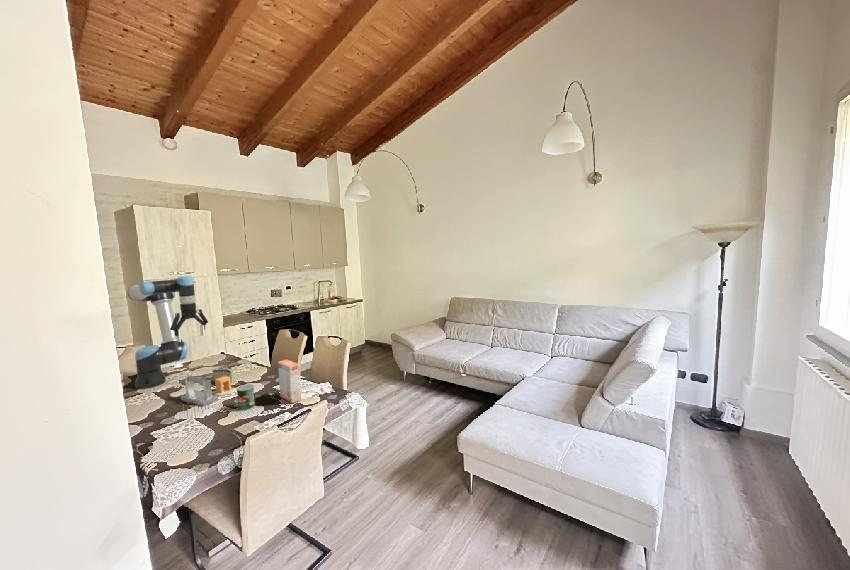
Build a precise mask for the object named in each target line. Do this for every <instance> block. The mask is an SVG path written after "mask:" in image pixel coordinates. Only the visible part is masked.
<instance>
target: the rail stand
mask: <svg viewBox="0 0 850 570" xmlns="http://www.w3.org/2000/svg"><path fill="white" fill-rule="evenodd" d="M184 383H185V391H186V393H184V394H182V395H180V400H181V401H184V402H188V403H191V404H195V405H197V406H201V407H205V406H208V405H210V404H213V403H216V402H217V401H219V396H218V395H214V394H212V391H213V390H212V381H211V379H205V378H201V377H197V376H193V375H187V376H185V377H184ZM194 383H196V384H200V385H202V388H203V391H200V390H198V389H197V390H196V389H195V388H194Z"/></svg>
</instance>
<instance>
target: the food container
mask: <svg viewBox="0 0 850 570" xmlns="http://www.w3.org/2000/svg"><path fill="white" fill-rule="evenodd" d="M211 371H212V372H211V373H213V378H214V379H213V380H215V379H218V378H221V377H223V376H227V377H230V379H231V382H232V377H233V376H232V375H233V374H232V373H233V371H234V369H233V368H232V366H229V365H225V366H218V367H214V368H213V369H212V370H211ZM223 386H224V384H223Z"/></svg>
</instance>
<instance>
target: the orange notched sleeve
mask: <svg viewBox="0 0 850 570" xmlns="http://www.w3.org/2000/svg"><path fill="white" fill-rule="evenodd" d="M214 384H215V390H216V392H219V393H224V390H223V387H224V389H227V390H231V387H232V381H231V379H230V377H227V376H223V377H221V378H218V379H214ZM223 384H224V385H223Z"/></svg>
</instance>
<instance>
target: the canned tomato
mask: <svg viewBox="0 0 850 570" xmlns="http://www.w3.org/2000/svg"><path fill="white" fill-rule="evenodd" d="M236 389H237V390H236V392H237V395H236V396H237V407H238V410H239V411H242V412H243V411H248V410H251V409H253V408H254V407H255V406H256V404H255V389H254V385H253V384H243V385H240V386H238V387H237V388H236Z"/></svg>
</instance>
